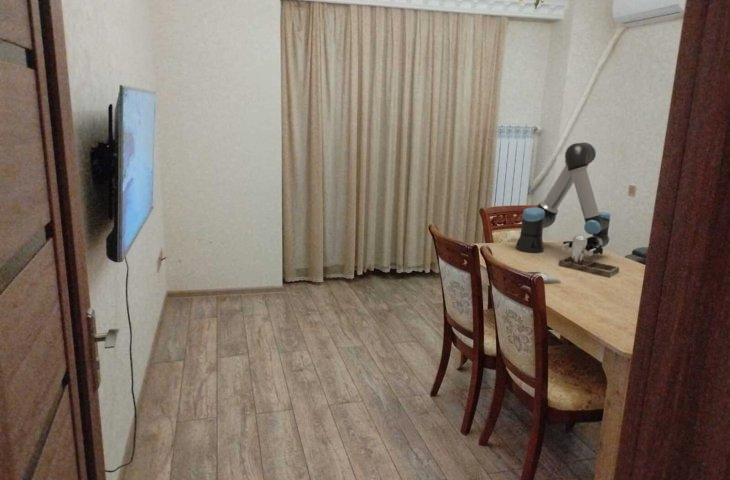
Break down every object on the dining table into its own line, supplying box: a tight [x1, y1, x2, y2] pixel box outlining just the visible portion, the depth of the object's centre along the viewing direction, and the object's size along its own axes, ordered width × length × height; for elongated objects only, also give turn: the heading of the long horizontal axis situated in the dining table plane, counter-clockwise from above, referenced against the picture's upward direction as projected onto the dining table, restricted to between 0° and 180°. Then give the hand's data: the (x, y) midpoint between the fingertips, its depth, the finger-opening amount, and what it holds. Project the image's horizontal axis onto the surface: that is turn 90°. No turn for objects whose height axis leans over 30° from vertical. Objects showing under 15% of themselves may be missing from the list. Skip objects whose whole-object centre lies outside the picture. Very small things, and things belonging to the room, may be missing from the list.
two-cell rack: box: [558, 256, 620, 278], centre depth 258 cm, size 25×13×2 cm, turn 46°
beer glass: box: [570, 235, 588, 266], centre depth 261 cm, size 7×7×15 cm
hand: (576, 250), depth 258 cm, fingers open, 13 cm apart
